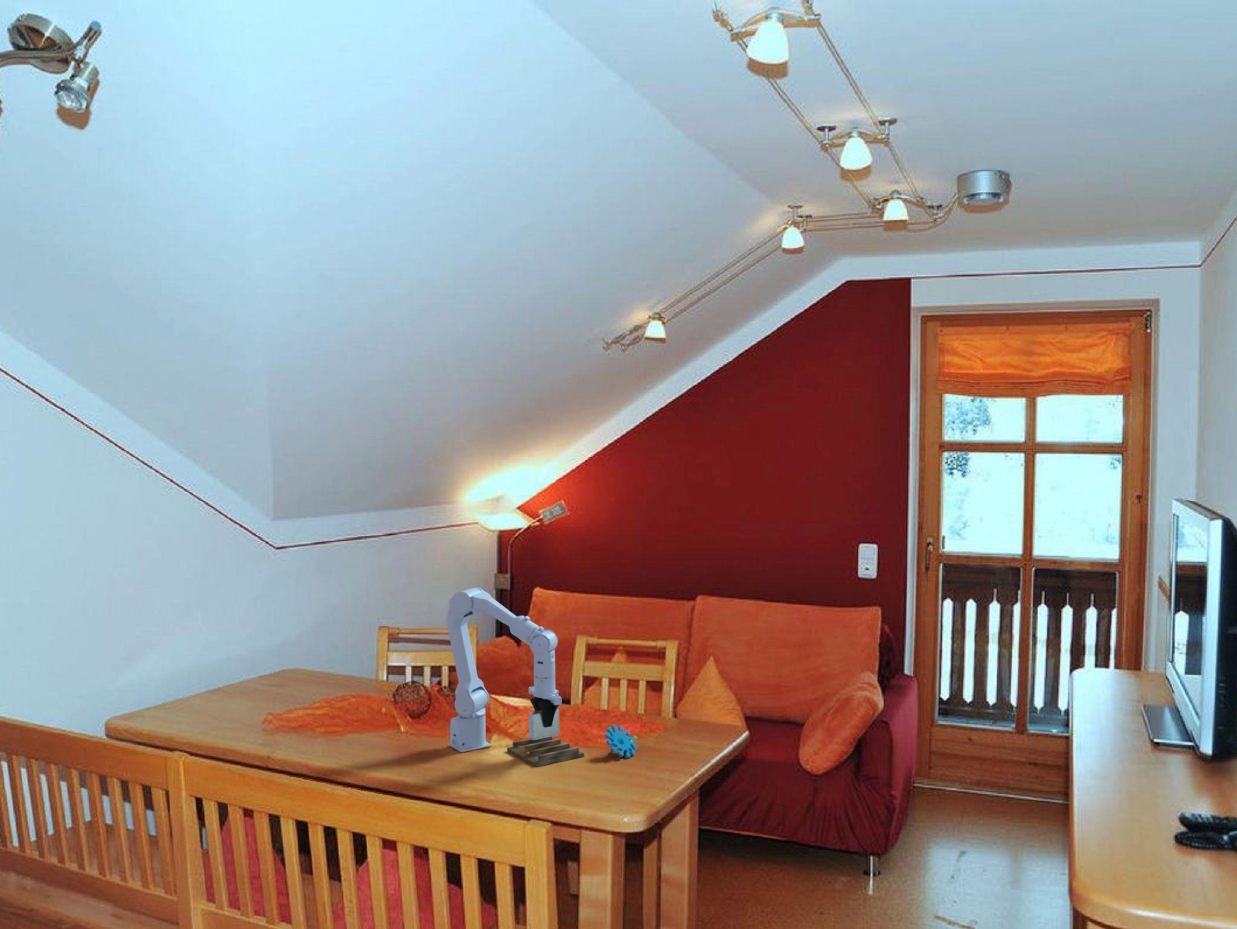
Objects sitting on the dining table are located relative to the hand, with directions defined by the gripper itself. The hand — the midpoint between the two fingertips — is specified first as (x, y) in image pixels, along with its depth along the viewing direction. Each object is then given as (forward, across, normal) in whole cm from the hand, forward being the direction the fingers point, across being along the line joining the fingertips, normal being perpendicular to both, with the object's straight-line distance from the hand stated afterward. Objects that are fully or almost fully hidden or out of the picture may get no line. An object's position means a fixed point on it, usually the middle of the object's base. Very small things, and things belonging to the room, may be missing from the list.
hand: (545, 725), depth 283 cm
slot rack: (+8, 0, 0) cm, 8 cm away
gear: (+8, -12, -17) cm, 22 cm away
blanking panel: (+3, 0, 0) cm, 3 cm away
